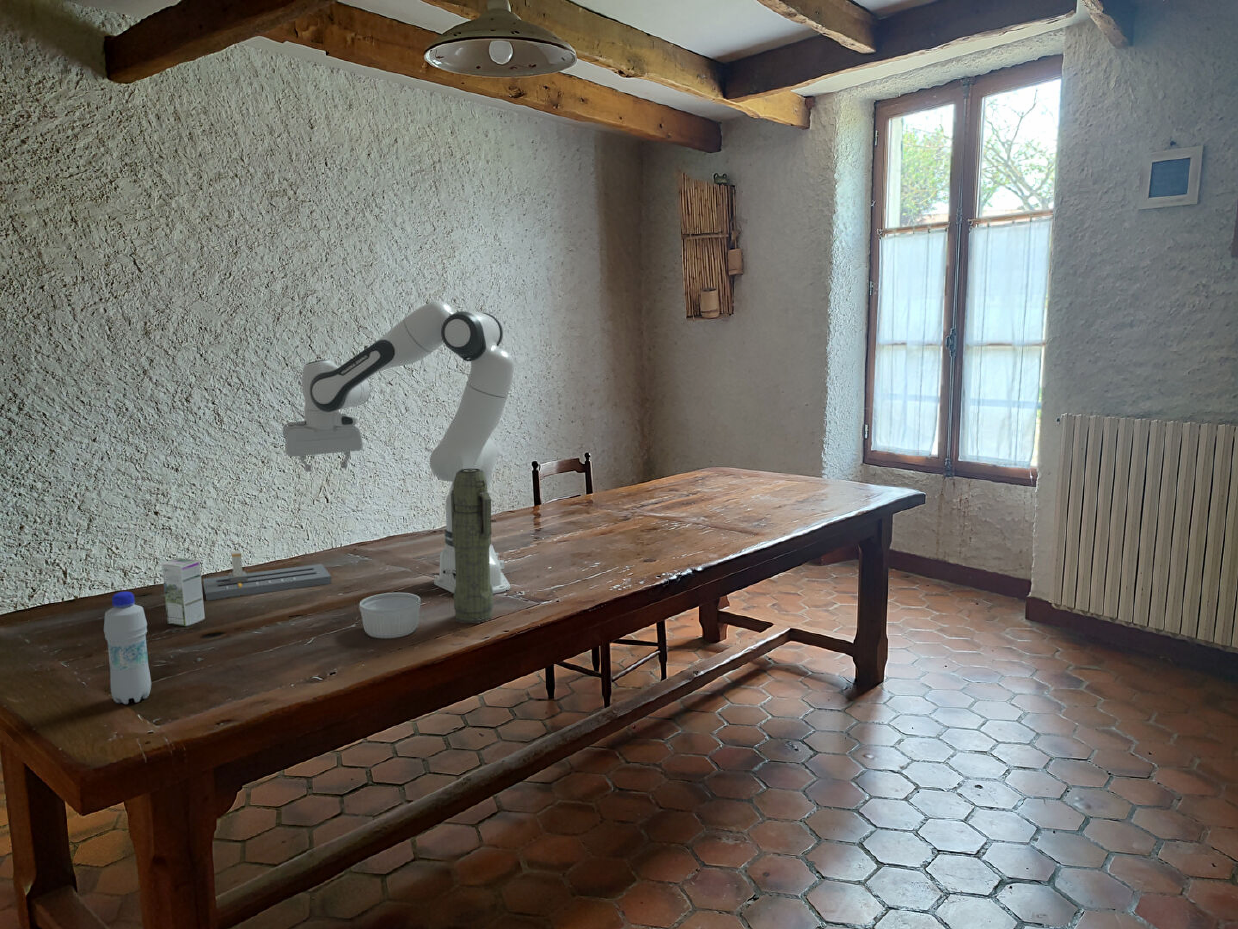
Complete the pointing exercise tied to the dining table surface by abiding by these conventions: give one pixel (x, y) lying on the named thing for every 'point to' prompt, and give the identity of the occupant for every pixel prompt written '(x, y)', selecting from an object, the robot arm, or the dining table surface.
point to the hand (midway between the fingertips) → (326, 469)
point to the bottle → (127, 649)
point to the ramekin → (390, 614)
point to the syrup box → (183, 591)
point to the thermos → (471, 546)
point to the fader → (237, 569)
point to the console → (267, 581)
